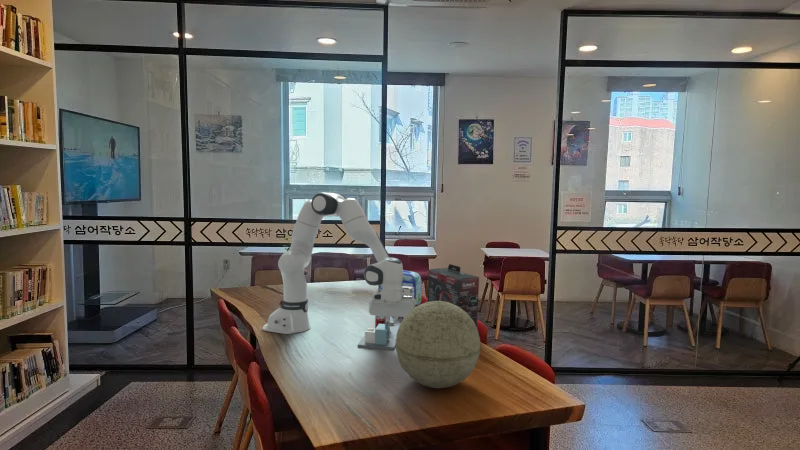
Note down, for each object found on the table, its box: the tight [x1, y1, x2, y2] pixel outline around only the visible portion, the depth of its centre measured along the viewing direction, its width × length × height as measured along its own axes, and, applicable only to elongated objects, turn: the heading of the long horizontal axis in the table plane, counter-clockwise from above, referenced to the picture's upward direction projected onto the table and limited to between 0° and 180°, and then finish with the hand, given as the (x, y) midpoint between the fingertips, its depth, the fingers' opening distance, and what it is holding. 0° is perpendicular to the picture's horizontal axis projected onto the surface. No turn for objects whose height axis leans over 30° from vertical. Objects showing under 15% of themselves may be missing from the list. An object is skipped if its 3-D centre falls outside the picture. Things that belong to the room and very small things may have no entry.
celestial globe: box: [395, 301, 481, 389], centre depth 163 cm, size 30×30×30 cm
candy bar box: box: [399, 286, 414, 319], centre depth 246 cm, size 11×5×16 cm, turn 68°
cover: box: [374, 320, 391, 345], centre depth 203 cm, size 5×8×10 cm, turn 171°
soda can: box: [374, 315, 391, 329], centre depth 222 cm, size 7×7×12 cm
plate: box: [357, 335, 396, 351], centre depth 204 cm, size 16×11×5 cm
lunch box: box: [377, 269, 423, 307], centre depth 269 cm, size 26×11×21 cm, turn 58°
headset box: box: [427, 263, 480, 328], centre depth 219 cm, size 25×12×33 cm, turn 32°
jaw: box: [364, 327, 375, 343], centre depth 204 cm, size 5×5×5 cm
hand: (391, 325), depth 202 cm, fingers closed
